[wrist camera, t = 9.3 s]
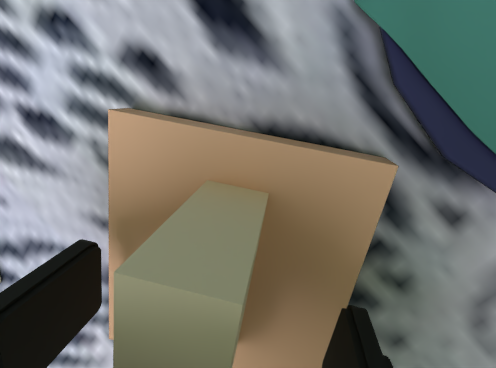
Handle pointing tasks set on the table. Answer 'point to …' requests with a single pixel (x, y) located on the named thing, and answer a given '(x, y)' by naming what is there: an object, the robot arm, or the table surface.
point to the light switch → (232, 242)
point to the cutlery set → (446, 73)
